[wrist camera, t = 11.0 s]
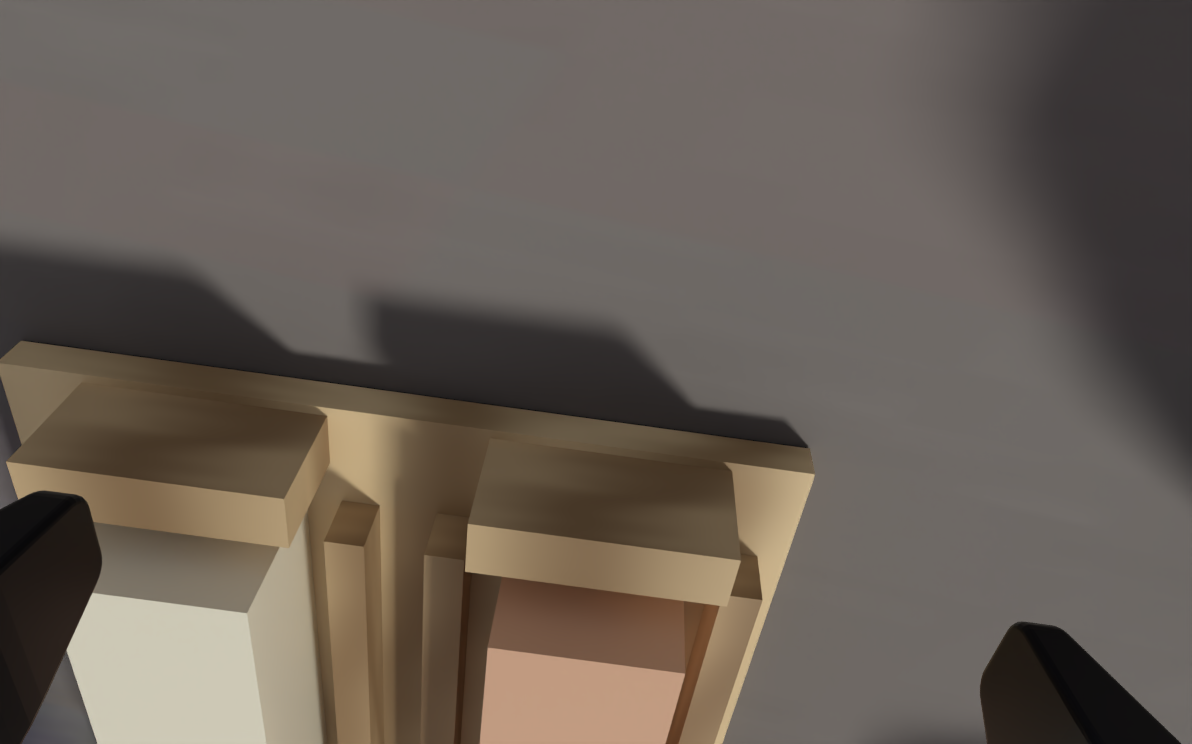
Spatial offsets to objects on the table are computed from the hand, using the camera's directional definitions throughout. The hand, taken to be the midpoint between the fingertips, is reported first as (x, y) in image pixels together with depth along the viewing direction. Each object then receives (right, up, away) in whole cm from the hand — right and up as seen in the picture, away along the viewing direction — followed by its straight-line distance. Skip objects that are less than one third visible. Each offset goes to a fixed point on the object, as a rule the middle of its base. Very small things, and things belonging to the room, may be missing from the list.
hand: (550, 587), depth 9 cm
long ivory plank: (-10, -7, +19) cm, 23 cm away
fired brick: (-1, -9, +19) cm, 21 cm away
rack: (-5, -8, +20) cm, 22 cm away
